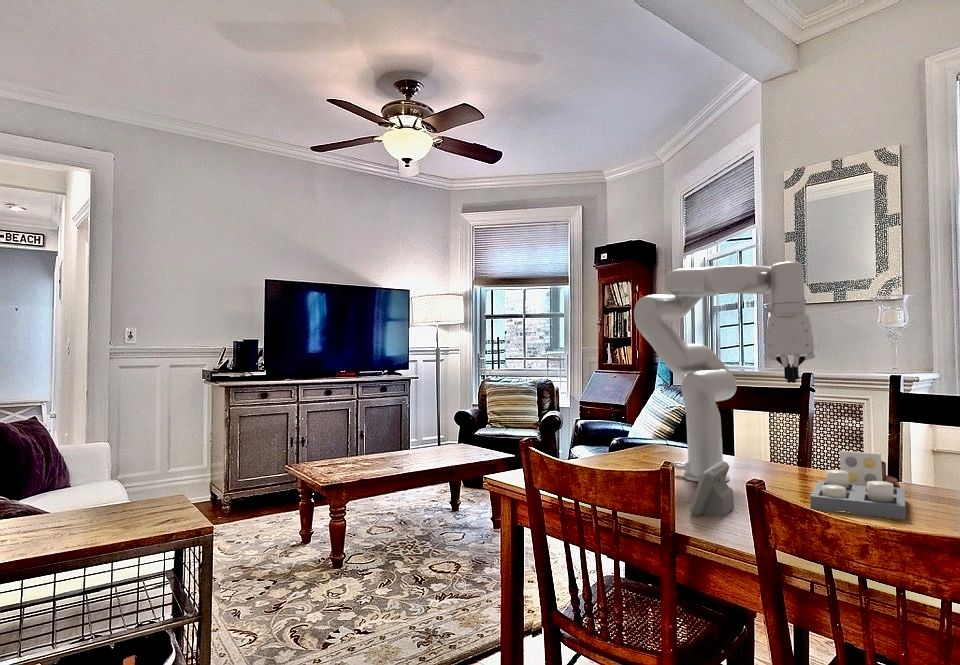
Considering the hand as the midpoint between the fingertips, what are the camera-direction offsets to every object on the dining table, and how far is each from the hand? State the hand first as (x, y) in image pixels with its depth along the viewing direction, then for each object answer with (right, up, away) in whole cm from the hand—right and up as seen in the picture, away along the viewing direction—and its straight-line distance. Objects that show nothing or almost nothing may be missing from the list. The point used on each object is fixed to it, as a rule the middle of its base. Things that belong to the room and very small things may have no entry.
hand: (791, 382), depth 146 cm
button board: (+11, -29, -9) cm, 32 cm away
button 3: (+12, -25, -15) cm, 32 cm away
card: (+19, -29, +2) cm, 34 cm away
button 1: (+5, -28, -10) cm, 30 cm away
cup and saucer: (+26, -29, +9) cm, 40 cm away
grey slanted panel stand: (-24, -30, -9) cm, 40 cm away
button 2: (+10, -26, -3) cm, 28 cm away
